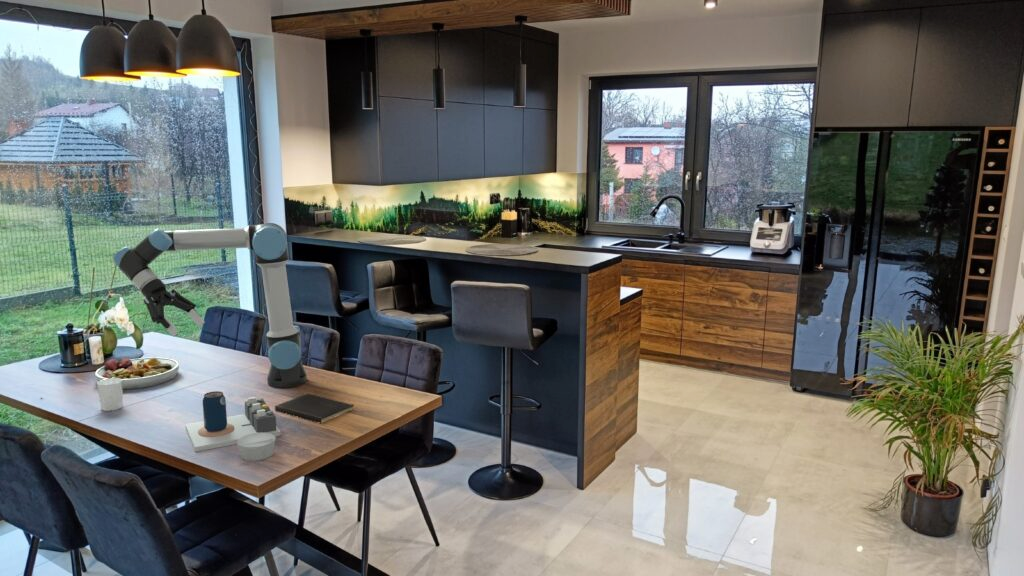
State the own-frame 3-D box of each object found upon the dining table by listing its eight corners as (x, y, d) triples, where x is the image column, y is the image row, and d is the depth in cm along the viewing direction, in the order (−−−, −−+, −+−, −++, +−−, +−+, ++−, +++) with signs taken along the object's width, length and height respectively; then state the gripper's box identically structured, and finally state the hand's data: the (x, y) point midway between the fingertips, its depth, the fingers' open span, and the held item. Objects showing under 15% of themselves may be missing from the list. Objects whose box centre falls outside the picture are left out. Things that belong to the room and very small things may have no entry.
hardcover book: (308, 399, 273) (308, 393, 273) (353, 411, 261) (353, 405, 261) (274, 412, 260) (274, 405, 259) (320, 425, 248) (320, 418, 248)
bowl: (194, 371, 305) (193, 353, 304) (147, 394, 276) (145, 374, 275) (131, 366, 310) (129, 349, 309) (78, 389, 281) (76, 369, 280)
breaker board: (265, 414, 256) (264, 392, 254) (280, 435, 237) (279, 411, 236) (185, 428, 242) (183, 404, 241) (195, 451, 224) (193, 426, 222)
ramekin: (258, 466, 215) (257, 449, 214) (229, 459, 219) (228, 442, 218) (284, 452, 225) (283, 436, 224) (256, 445, 229) (255, 430, 228)
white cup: (100, 413, 255) (97, 386, 253) (98, 406, 262) (96, 379, 260) (125, 409, 259) (122, 382, 258) (123, 402, 266) (121, 376, 264)
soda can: (232, 427, 239) (229, 392, 236) (215, 434, 232) (213, 399, 230) (216, 423, 241) (213, 389, 239) (199, 431, 235) (197, 395, 233)
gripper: (168, 285, 268) (206, 327, 267) (117, 298, 244) (158, 344, 243) (179, 272, 266) (218, 314, 265) (129, 284, 242) (171, 330, 241)
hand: (189, 329), depth 254 cm, fingers open, 13 cm apart
